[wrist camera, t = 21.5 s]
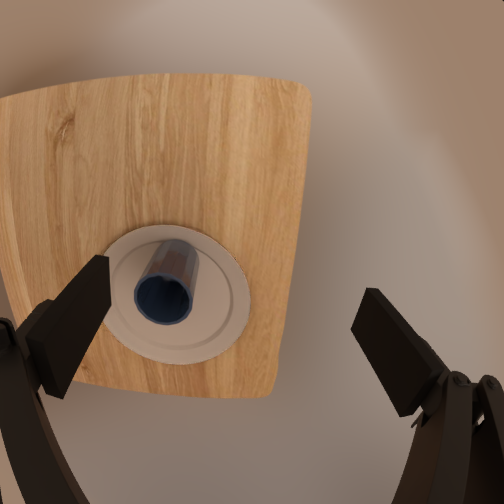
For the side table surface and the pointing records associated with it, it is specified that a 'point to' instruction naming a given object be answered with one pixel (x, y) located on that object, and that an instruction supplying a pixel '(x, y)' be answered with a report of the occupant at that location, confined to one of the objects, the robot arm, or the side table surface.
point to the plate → (204, 305)
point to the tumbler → (168, 283)
